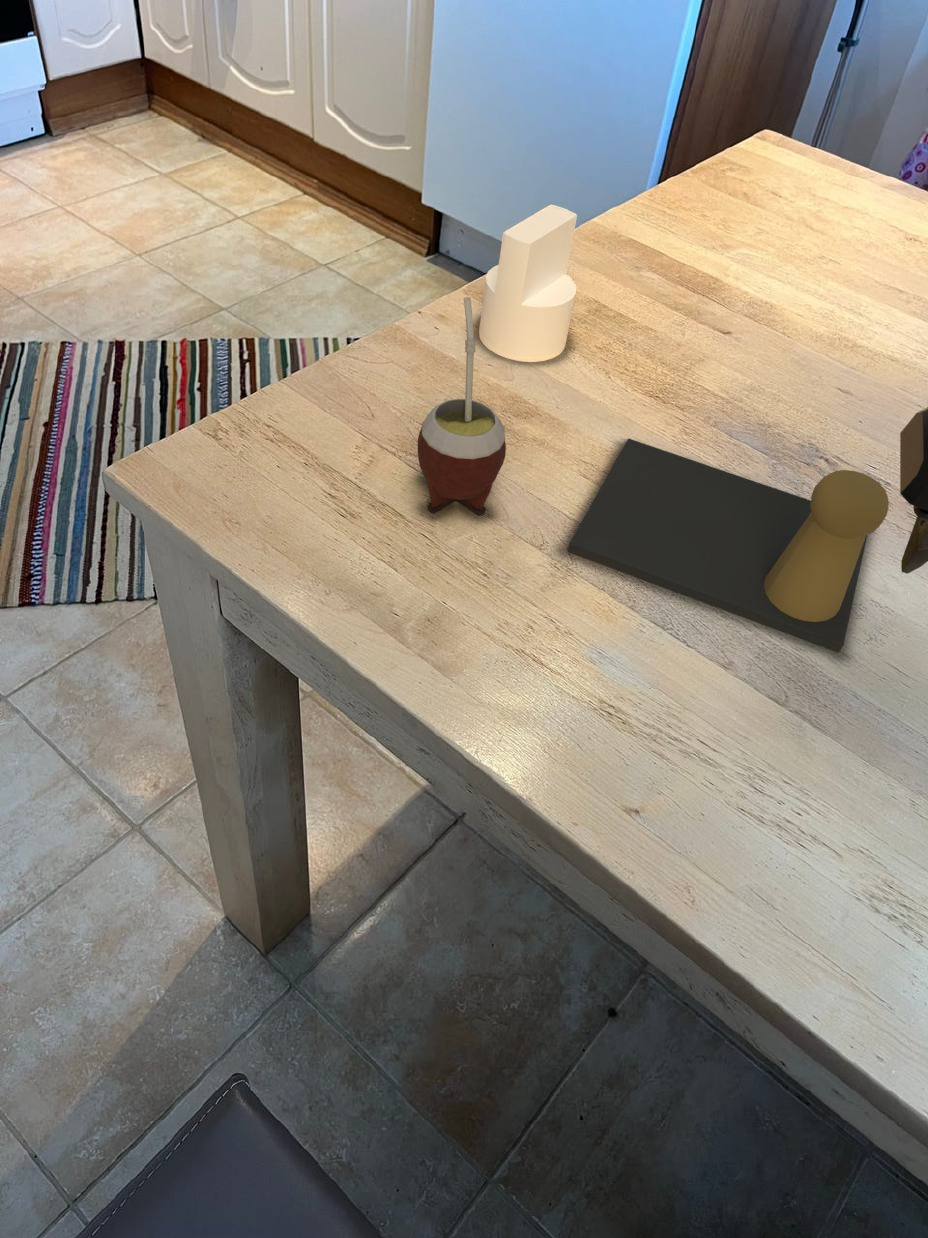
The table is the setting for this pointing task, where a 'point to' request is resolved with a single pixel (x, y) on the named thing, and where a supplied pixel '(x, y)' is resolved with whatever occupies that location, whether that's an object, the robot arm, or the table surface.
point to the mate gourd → (461, 444)
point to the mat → (701, 536)
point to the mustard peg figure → (827, 546)
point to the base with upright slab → (531, 289)
